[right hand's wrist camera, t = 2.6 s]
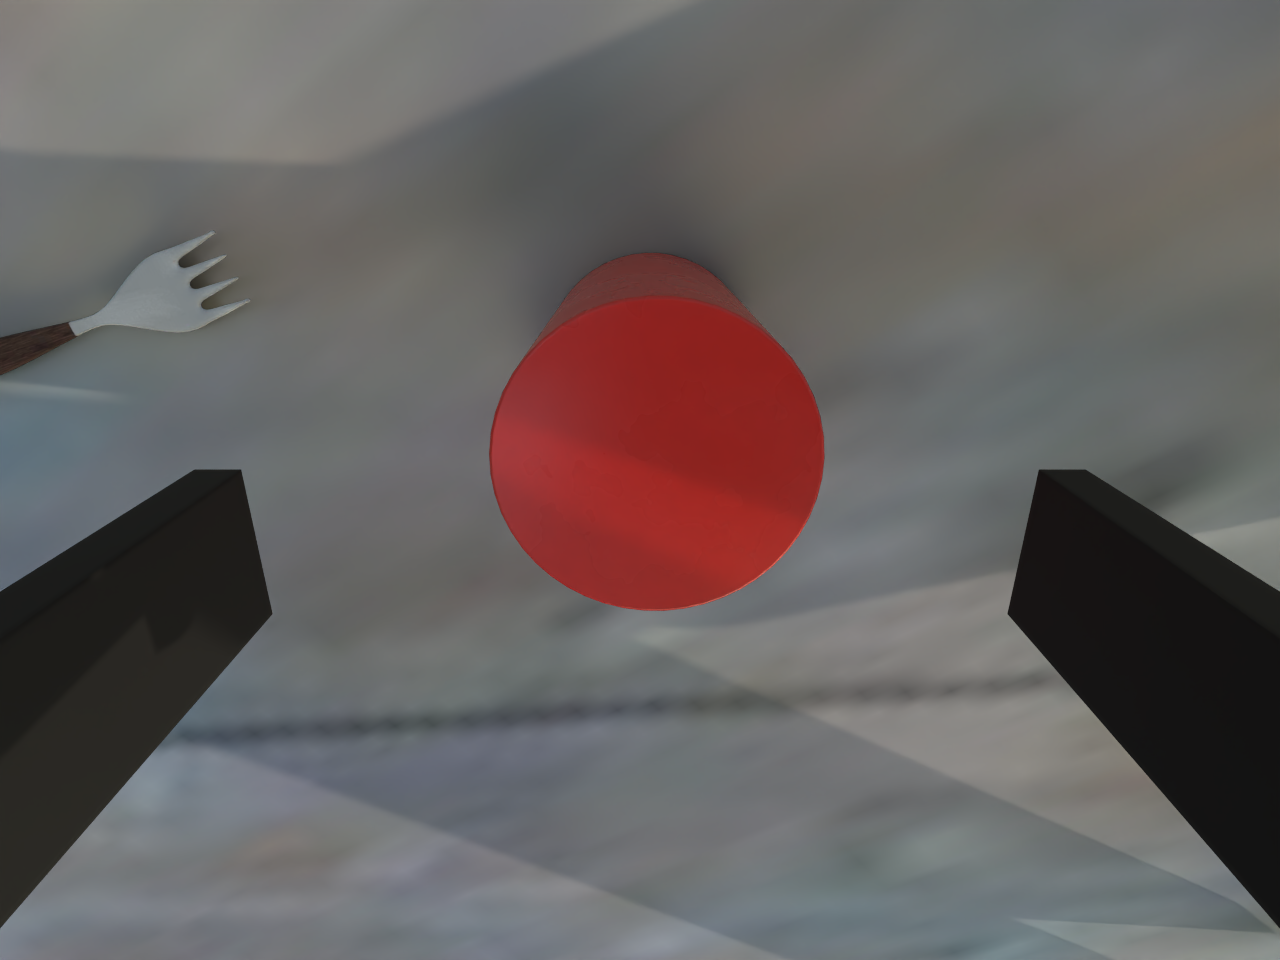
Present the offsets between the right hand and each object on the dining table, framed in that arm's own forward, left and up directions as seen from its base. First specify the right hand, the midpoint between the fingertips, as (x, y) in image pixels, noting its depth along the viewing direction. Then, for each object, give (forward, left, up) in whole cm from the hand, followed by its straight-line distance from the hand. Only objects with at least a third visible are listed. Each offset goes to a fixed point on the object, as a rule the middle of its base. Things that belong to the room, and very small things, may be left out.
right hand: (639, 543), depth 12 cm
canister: (0, 0, -14) cm, 14 cm away
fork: (+11, +17, -14) cm, 25 cm away
